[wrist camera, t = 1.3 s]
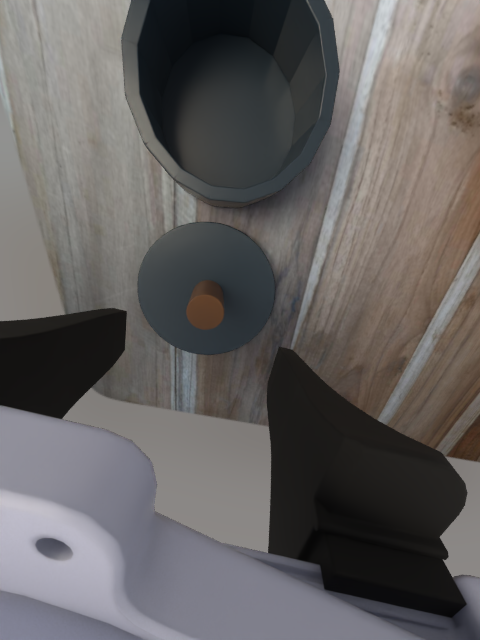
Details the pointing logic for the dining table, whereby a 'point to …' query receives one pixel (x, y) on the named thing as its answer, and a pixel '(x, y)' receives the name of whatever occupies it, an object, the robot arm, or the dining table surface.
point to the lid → (206, 288)
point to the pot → (231, 91)
